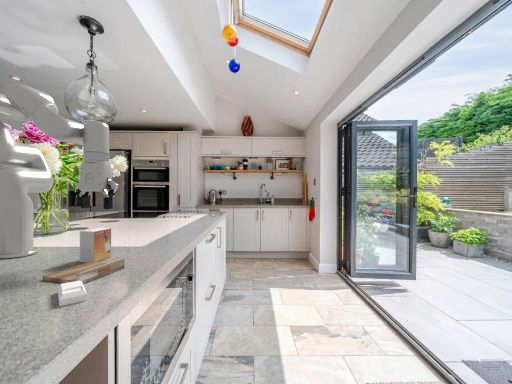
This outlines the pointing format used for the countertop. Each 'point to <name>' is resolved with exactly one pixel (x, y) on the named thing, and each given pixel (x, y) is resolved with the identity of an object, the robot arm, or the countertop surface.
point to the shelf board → (85, 272)
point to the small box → (95, 244)
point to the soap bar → (71, 293)
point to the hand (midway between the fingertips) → (96, 208)
